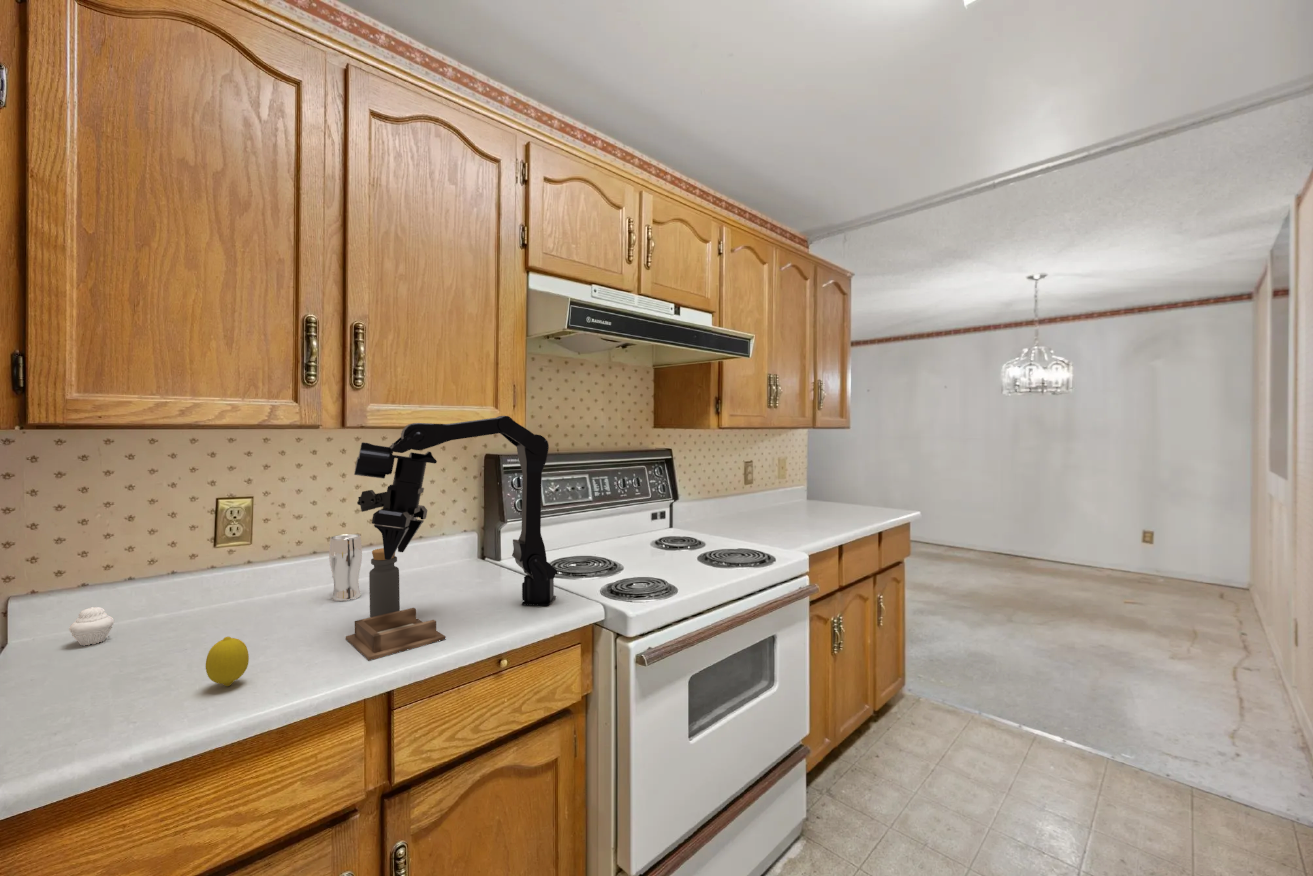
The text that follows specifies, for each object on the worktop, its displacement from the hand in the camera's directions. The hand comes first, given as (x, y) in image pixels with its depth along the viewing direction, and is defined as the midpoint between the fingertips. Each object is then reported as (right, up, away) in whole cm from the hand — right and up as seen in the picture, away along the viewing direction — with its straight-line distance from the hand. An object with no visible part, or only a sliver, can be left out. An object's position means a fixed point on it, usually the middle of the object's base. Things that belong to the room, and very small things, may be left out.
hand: (394, 555), depth 116 cm
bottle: (-4, -15, +5) cm, 16 cm away
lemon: (-14, -16, -26) cm, 34 cm away
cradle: (+4, -15, -7) cm, 17 cm away
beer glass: (-21, -15, +20) cm, 32 cm away
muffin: (-55, -15, -8) cm, 58 cm away
